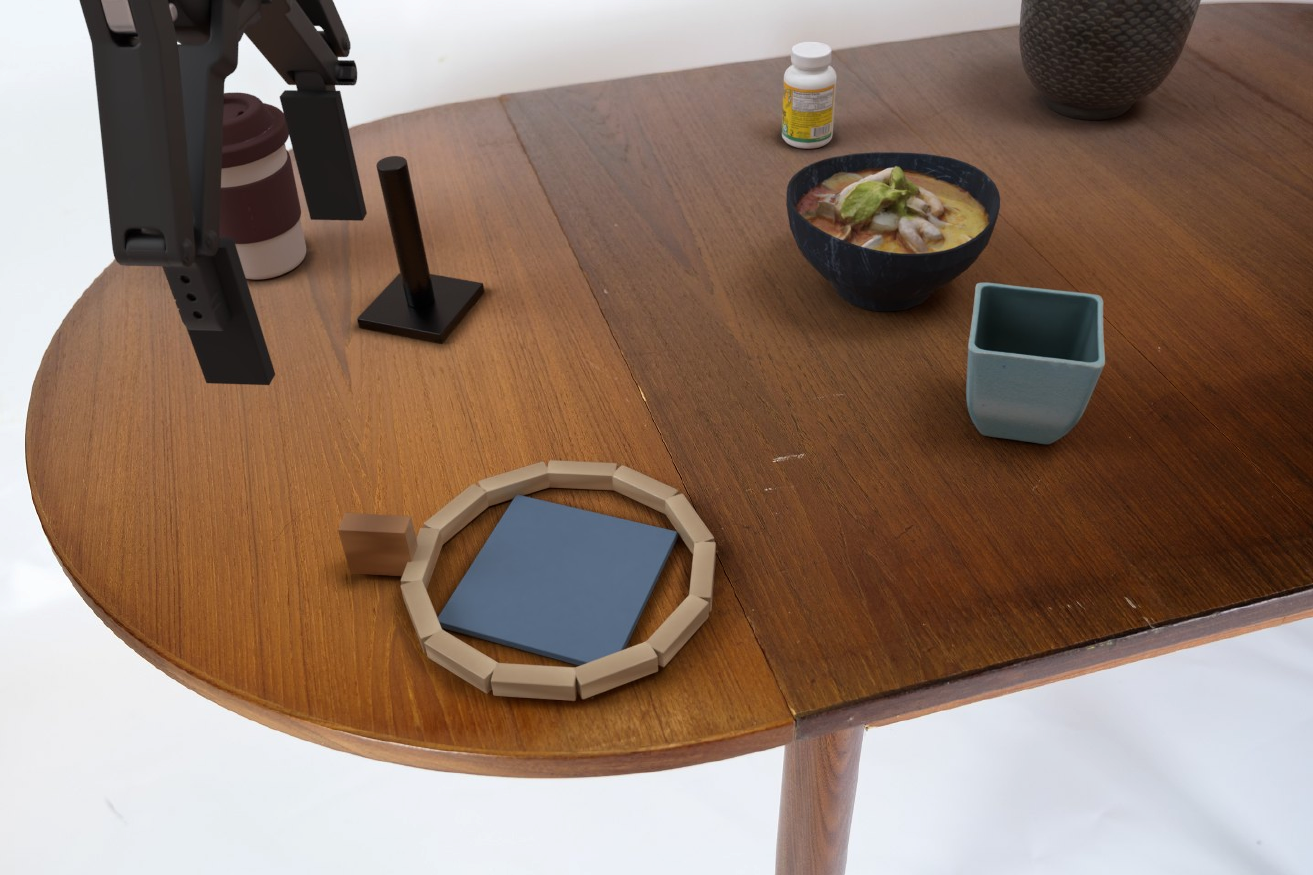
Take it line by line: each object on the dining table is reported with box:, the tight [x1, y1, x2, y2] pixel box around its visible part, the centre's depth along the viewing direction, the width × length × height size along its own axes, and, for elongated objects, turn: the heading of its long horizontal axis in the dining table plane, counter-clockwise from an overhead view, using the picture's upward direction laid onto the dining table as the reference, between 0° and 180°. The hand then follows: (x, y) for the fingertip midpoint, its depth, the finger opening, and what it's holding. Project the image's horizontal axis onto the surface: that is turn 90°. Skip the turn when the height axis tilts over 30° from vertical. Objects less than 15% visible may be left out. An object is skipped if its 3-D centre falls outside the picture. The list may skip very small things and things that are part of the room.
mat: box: [437, 495, 679, 666], centre depth 74 cm, size 12×12×1 cm
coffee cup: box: [219, 92, 307, 280], centre depth 100 cm, size 10×10×15 cm
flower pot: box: [965, 282, 1106, 445], centre depth 81 cm, size 9×9×9 cm
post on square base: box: [356, 155, 485, 344], centre depth 93 cm, size 8×8×14 cm
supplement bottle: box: [781, 41, 837, 150], centre depth 116 cm, size 5×5×10 cm
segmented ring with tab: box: [337, 459, 717, 702], centre depth 73 cm, size 24×20×4 cm
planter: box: [1018, 0, 1202, 121], centre depth 118 cm, size 17×17×16 cm
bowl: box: [785, 151, 1001, 312], centre depth 95 cm, size 17×17×10 cm
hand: (295, 290), depth 52 cm, fingers open, 13 cm apart
